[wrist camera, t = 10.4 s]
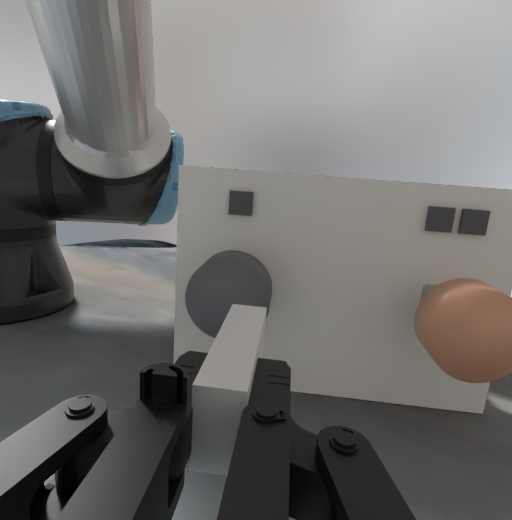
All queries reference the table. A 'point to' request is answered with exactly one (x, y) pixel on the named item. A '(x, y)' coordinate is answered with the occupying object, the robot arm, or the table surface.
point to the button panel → (346, 272)
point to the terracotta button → (466, 329)
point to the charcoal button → (226, 288)
